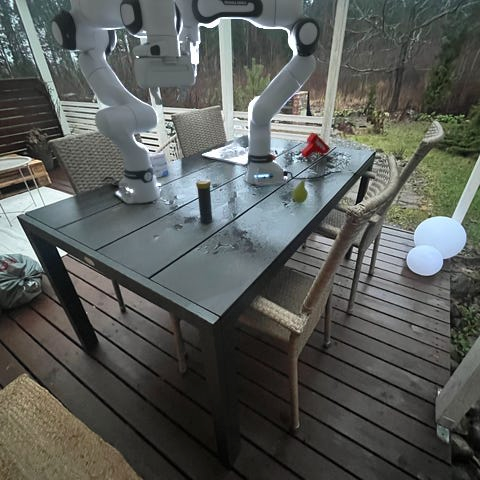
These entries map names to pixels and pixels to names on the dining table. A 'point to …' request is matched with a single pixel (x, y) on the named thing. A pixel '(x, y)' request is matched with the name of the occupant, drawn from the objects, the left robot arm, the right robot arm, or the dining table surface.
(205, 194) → the jar
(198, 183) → the lid
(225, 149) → the relief map
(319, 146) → the toy gun
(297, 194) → the fruit
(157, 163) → the ink box
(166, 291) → the dining table surface
